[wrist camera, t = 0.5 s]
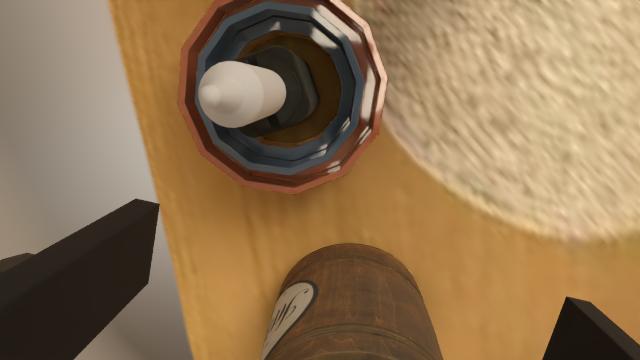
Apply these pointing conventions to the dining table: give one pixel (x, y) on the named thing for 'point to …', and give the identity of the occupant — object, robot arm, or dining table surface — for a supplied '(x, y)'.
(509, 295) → the dining table surface
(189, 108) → the stacked bowls
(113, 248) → the robot arm
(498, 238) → the dining table surface
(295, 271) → the wooden container
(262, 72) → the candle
